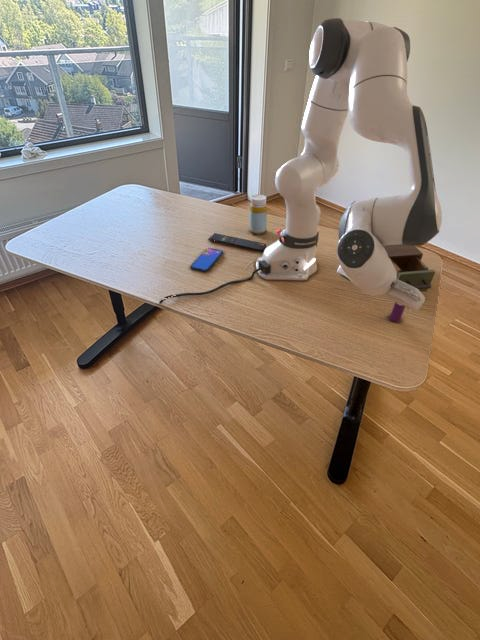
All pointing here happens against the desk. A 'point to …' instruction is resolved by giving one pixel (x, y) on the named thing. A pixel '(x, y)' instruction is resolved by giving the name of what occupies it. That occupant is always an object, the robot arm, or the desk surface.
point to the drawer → (413, 272)
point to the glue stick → (397, 312)
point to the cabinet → (402, 251)
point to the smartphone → (206, 260)
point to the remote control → (238, 242)
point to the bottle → (258, 214)
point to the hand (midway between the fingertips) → (387, 293)
